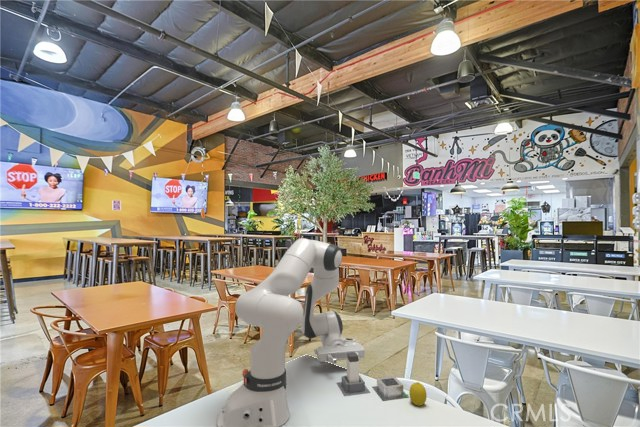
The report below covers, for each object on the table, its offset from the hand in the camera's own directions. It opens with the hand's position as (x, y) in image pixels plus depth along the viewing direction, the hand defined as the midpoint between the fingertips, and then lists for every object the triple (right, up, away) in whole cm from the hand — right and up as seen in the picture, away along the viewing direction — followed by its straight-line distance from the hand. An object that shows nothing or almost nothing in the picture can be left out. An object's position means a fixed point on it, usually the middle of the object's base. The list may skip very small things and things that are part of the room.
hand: (346, 360), depth 125 cm
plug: (+2, -7, -8) cm, 10 cm away
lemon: (+23, -7, -18) cm, 30 cm away
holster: (+2, -8, -8) cm, 11 cm away
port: (+15, -7, -11) cm, 20 cm away
